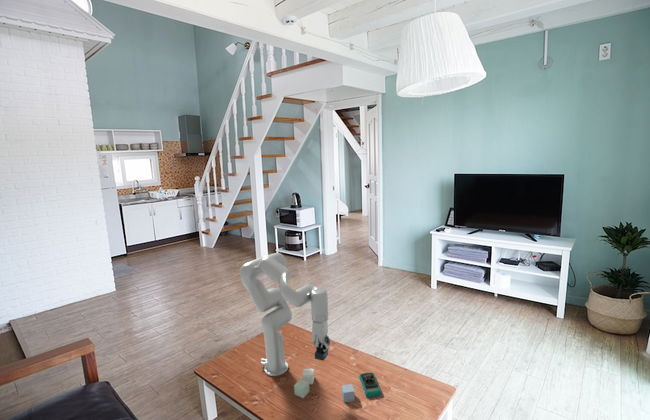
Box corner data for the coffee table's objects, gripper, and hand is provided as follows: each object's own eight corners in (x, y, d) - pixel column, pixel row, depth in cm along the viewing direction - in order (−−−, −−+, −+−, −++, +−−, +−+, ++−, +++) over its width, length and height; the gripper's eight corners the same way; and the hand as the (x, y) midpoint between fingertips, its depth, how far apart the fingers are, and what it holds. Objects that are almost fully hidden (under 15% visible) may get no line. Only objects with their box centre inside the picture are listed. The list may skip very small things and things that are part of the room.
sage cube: (294, 394, 161) (294, 385, 160) (301, 388, 165) (300, 379, 164) (303, 398, 158) (302, 388, 158) (309, 391, 163) (308, 382, 162)
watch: (327, 361, 155) (327, 338, 154) (311, 357, 158) (311, 335, 157) (331, 355, 160) (331, 333, 159) (316, 351, 164) (316, 330, 162)
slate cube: (343, 402, 154) (343, 392, 153) (341, 394, 159) (341, 385, 158) (354, 401, 155) (354, 391, 154) (352, 393, 160) (352, 383, 159)
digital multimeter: (373, 375, 172) (373, 370, 171) (381, 396, 157) (381, 390, 157) (359, 378, 171) (358, 372, 170) (366, 398, 156) (366, 393, 156)
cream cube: (302, 383, 168) (302, 374, 167) (304, 377, 173) (304, 368, 172) (312, 384, 167) (312, 375, 167) (314, 377, 172) (313, 368, 171)
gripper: (317, 306, 165) (319, 341, 168) (306, 323, 149) (307, 361, 153) (332, 308, 162) (334, 343, 166) (322, 325, 147) (323, 364, 151)
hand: (321, 351), depth 159 cm, fingers closed on watch, 3 cm apart
